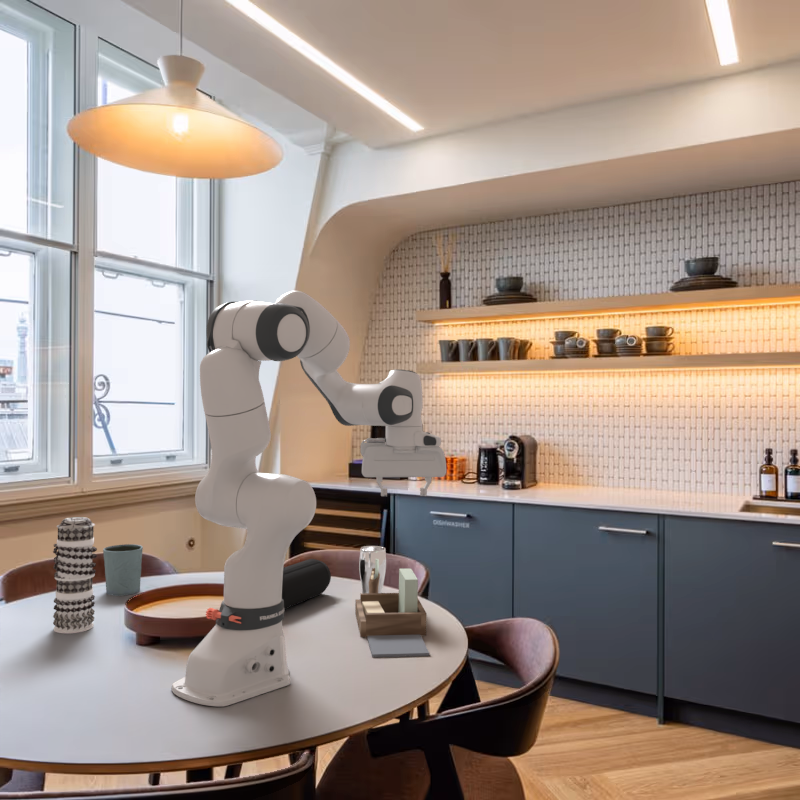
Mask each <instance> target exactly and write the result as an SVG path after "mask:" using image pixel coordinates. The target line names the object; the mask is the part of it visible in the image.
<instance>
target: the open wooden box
mask: <svg viewBox="0 0 800 800" xmlns="http://www.w3.org/2000/svg"><path fill="white" fill-rule="evenodd" d="M359 595H360V599H359V598H358V599H355V604H354V605H355V609H354V610H355V618H356V623H357V628H358V633H359V635H360V638H367V636H375V635H419V634H420V635H421V637H422V636H427V618H428V617H427V616H428V615H427V612H426V610H425V608H424V607H423V605H422V603H421V601H420V599H419V598H418V603H417V612H399V613H398V605H399V592H382V593H362V592H361V593H360V594H359ZM366 601H378V602H379V603H380V605H381V607H382V609H383V610H384V612H385V613H366V619H365V615H364V611H363V608H362V602H366Z"/></svg>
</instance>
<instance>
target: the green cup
mask: <svg viewBox="0 0 800 800" xmlns="http://www.w3.org/2000/svg"><path fill="white" fill-rule="evenodd" d="M143 550H144V549H143V545H142V544H135V543H133V544H129V543H128V544H127V543H126V544H116V545H110V546H107V547H103V550H102V552H103V561H104V574H105V575H104V578H105V591H106V594H107V595H109V596H116V597H117V596H119V597H121V596H128V595H133V594H137V593H139V592H140V590H141V575H142V561H143V560H142V559H143Z"/></svg>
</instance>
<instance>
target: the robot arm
mask: <svg viewBox="0 0 800 800" xmlns="http://www.w3.org/2000/svg"><path fill="white" fill-rule="evenodd" d="M206 339H207V340H206V348H207V349H208V351H209V352H208V353H207V354H206V355H204V357H203V358H202V359H201V361H200V364H199V382H200V383H199V385H200V394H201V400H202V401H201V402H202V406H203V411H204V416H205V420H206V425H207V429H208V430H207V431H208V436H209V440H210V447H211V460H210V461H211V462H210V465H209V470H208V472H207V473H206V475H204V476H203V478H201V480H200V481H199V483H198V485H197V488H196V490H195V494H194V495H195V496H194V503H195V507H196V511H197V513H198V514H199V515H200V516H201V517H202V518H203V519H205V520H206V521H209V522H211V523H214V524H216V525H219V526H222V527H230V528H237V529H246V538H245V542H244V544H243V546H242V547H241V548H240V549H238V550H236V551H234V552H233V553H232V554H230V555H229V556H228V558H227V559H226V560H225V564H224V568H223V571H224V573H223V600H222V602H221V603H220V607H219V609H218V608H213V607H209V608H207V610H206V611H205V617H206V619H208V620H213V621H215V625H214V626H213V627H212V629H210V631H209V632H208V633H207V634H206V635H205V636H204V638H203V639H202V640H201V641H200V642H199V643H198V644H197V645H196V647H195V648H194V649H193V650H192V651H191V652H190V653H189V656H188V658H187V662H186V667H185V674H184V675H185V676H183V677H182V678H180V679H178V680H176V681H175V682H173V683H172V684H171V691H172V693H173V694H174V695H176V696H177V697H179V698H181V699H183V700H186V701H188V702H191V703H195V704H199V705H203V706H209V707H227V706H229V705H230V706H231V705H233V704H236V703H239V702H242V701H246V700H248V699H251V698H255V697H257V696H261V695H262V694H266V693H269V692H272V691H275V690H277V689H280V688H284V687H286V686H289V685H290V684H291V677H290V675H289V674H290V669H289V666H288V661H287V651H286V641H285V640H286V639H285V635H284V634H285V633H284V629H283V620H284V619H285V610H286V609H284V600H283V599H282V580H283V568H284V567H285V566H284V565H285V561H286V556H287V552H288V550H289V547H290V545H291V544H292V542H293V540H294V539H295V537H296V536H297V535H298V534H299V533H300V532H302V531H303V530H304V529H305V528H307V527H308V526H309V524H310V523H311V522H312V520H313V518H314V516H315V513H316V510H317V497H316V494H315V493H316V492H315V491H314V489H313V487H312V485H311V484H310V483H309V482H308V481H306V480H304V479H300V478H298V477H296V476H292V475H289V474H284V473H282V474H281V473H270V472H269V473H268V472H260V471H259V470H258V469H257V465H256V458H257V456H259V455H261V454H262V453H263V452H264V451H265V450H266V449H267V447H268V446H269V444H270V442H271V440H272V439H271V438H272V433H271V432H272V431H271V428H270V422H269V417H268V413H267V408H266V403H265V398H264V393H263V390H262V386H261V381H260V367H261V365H262V362H264V361H268V362H269V361H273V362H284V361H289V360H291V359H294V358H296V357H297V358H298V359H299V362H300V366H301V369H302V371H303V373H304V374H305V375H306V376H307V378H308V380H309V381H310V382H311V383H312V384H313V385H314V387H315V388H316V389H317V390H318V392H319V393H320V394H321V395H322V397H323V398H324V399H325V401H326V402H327V404H328V406H329V408H330V410H331V412H332V414H333V415H334V417H335V419H336V420H337V421H338V423H340V424H341V425H342V426H346V427H352V426H370V427H371V426H372V427H373V426H374V427H375V426H376V427H377V426H378V427H380V426H381V427H385V437H377V438H376V437H375V438H372V437H368V438H366V439H364V440H362V442H361V443H360V446H359V447H360V448H359V449H360V450H359V451H360V456H361V457H362V464H361V474H362V476H363V477H364V478H376V483H377V485H378V487H379V489H380V496H381V497H388V488H387V487H384V485H383V484H382V482H383V478H424V481H425V484H424V486H423V487H420V488H419V491H420V492H419V493H420V494H419V496H420V497H427V496H428V494H427V493H428V491H427V490H428V488H429V487H430V485H431V484H432V479H433V478H444V477H445V476H446V474H447V460H446V455H445V452H444V449H443V448H442V447H441V444H442V439H441V437H440V436H439V435H436V434H432V433H430V432H428V431H423V421H422V411H423V401H424V400H423V386H422V380H421V376H420V374H418V373H417V372H415V371H413V370H408V369H400V368H399V369H393V370H389V372H388V374H387V377H386V378H385V379H383V380H382V381H379V382H378V383H354V382H350V381H346V380H345V379H344V378H343V377H342V375H341V374H340V372H339V371H338V370H339V368H340V367H341V366H342V365H343V364H344V362H345V361H346V359H347V357H348V355H349V352H350V346H351V341H350V340H351V339H350V337H349V334H348V333H347V331H346V330H345V328H344V326H343V325H342V324H341V323H340V321H338V319H337V318H336V317H334V316H333V314H332V313H331V312H330V311H329V310H328V309H327V308H325V307H324V306H323V305H322V304H321V303H320V302H319V301H317V300H316V299H315V298H313V297H312V296H310V295H309V294H307V293H306V292H304V291H301V290H290V291H288V292H285V293H284V294H282V295H280V297H278V298H277V299H276V301H275V302H274V303H273V302H269V301H267V302H265V301H260V300H243V301H229V302H226V303H223V304H220V305H219V306H216V307H215V308H214V309H213V310H212V311H211V312H210V315H209V317H208V320H207V324H206Z"/></svg>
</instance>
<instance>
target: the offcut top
mask: <svg viewBox="0 0 800 800" xmlns="http://www.w3.org/2000/svg"><path fill="white" fill-rule="evenodd" d="M362 608H363V611H364V615H365V618H366V613H385V612H384V610H383V609H382V607H381V605H380V603H379V602H378V601H366V602H362Z"/></svg>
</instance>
